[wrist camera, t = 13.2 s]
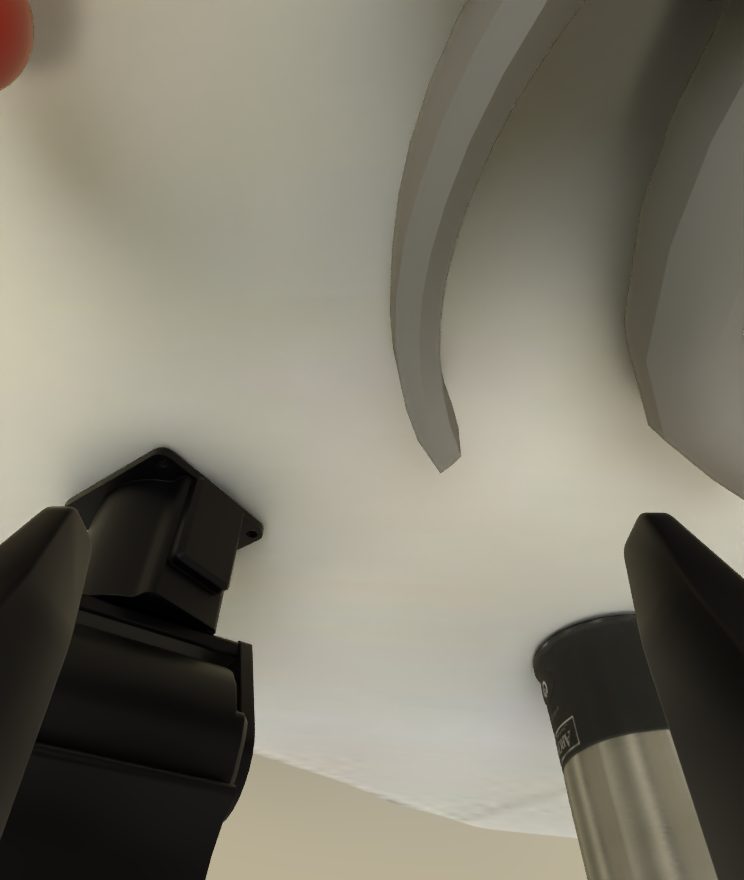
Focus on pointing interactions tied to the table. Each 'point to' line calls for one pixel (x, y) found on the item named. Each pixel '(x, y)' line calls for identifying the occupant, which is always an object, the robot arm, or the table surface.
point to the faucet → (657, 242)
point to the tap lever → (14, 39)
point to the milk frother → (619, 756)
